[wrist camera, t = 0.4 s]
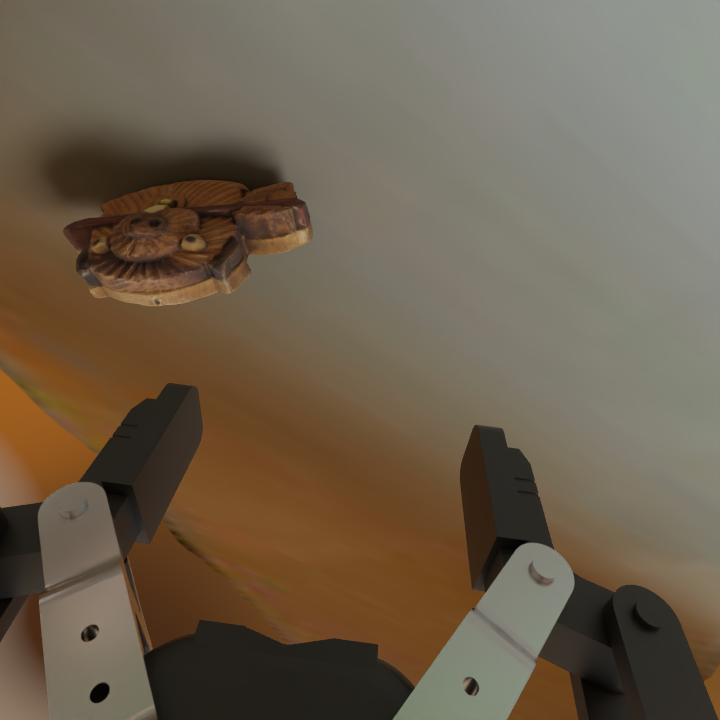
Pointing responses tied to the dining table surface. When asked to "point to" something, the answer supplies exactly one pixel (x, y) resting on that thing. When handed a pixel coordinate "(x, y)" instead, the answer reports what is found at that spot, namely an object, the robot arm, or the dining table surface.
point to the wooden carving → (185, 239)
